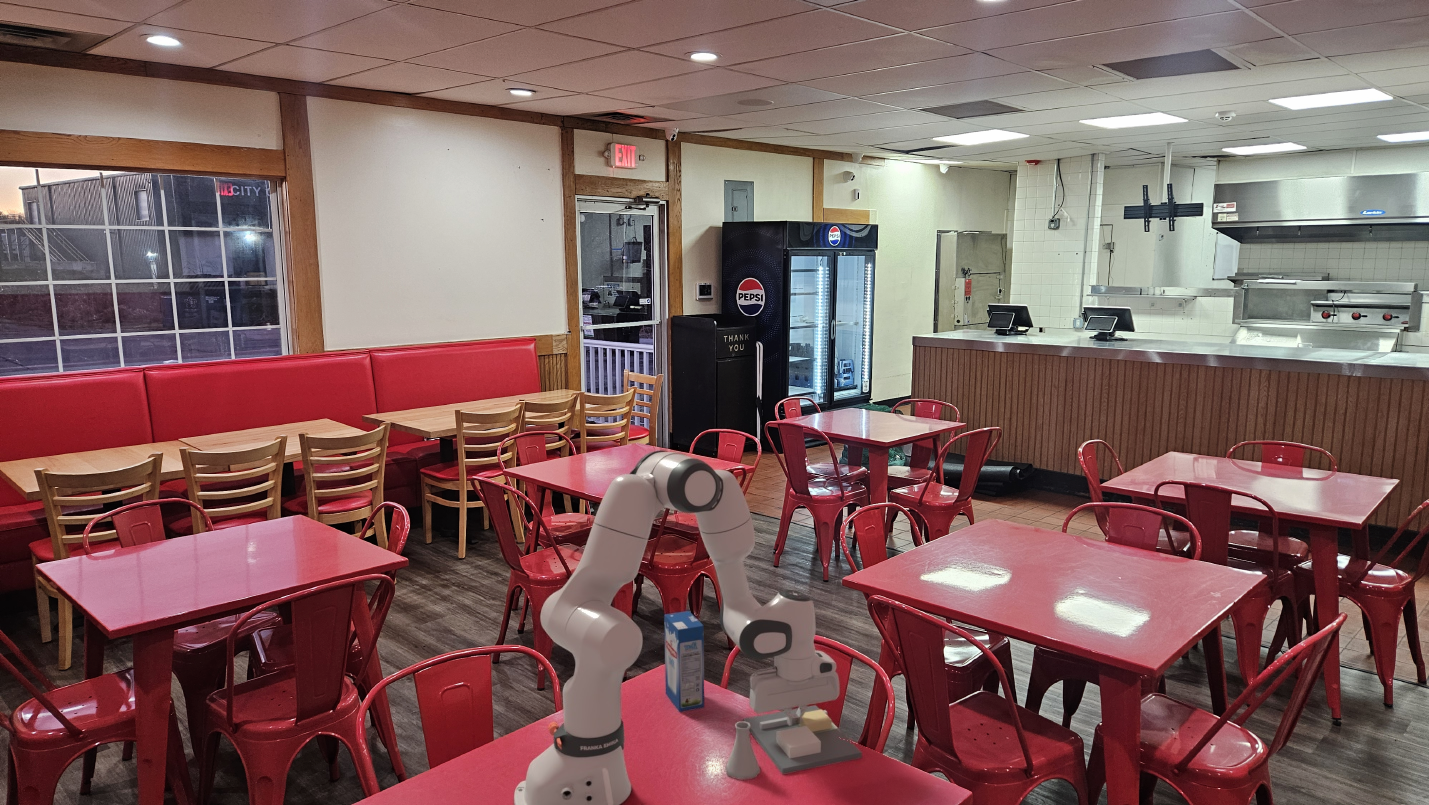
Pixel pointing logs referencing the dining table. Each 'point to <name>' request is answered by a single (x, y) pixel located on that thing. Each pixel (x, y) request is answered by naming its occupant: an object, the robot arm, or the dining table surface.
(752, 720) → the ticket board
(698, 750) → the dining table surface
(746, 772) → the flask
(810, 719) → the stub
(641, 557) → the robot arm
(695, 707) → the milk carton
